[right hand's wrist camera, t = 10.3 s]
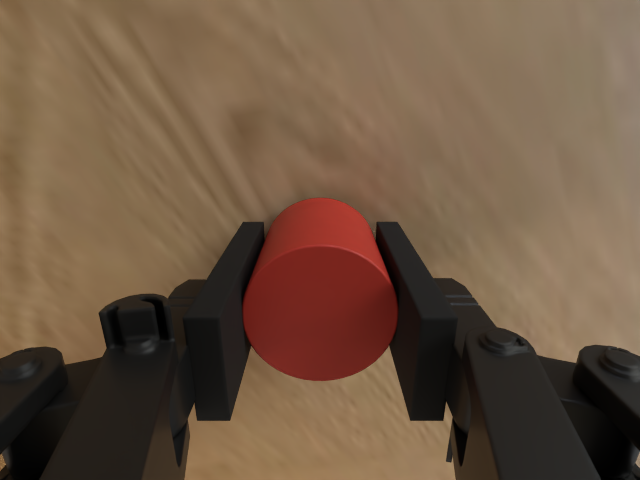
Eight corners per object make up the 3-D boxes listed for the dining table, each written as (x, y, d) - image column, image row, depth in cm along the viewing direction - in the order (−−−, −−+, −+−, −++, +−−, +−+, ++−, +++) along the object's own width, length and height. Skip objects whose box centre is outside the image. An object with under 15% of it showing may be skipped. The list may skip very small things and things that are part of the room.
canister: (375, 194, 14) (401, 240, 9) (374, 296, 15) (397, 378, 11) (259, 200, 14) (231, 248, 9) (270, 301, 15) (250, 384, 11)
